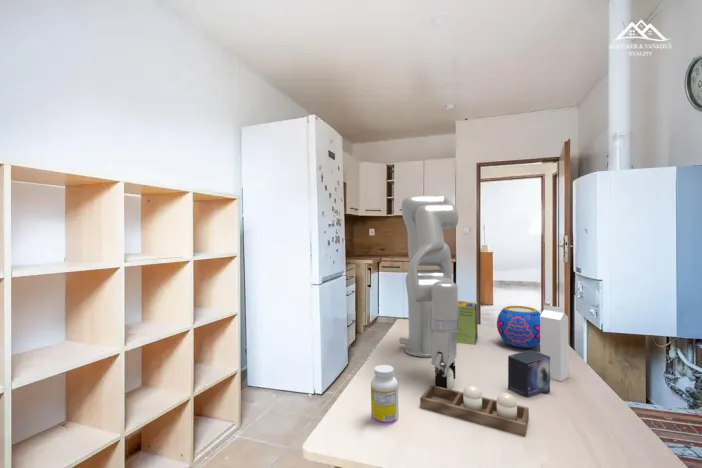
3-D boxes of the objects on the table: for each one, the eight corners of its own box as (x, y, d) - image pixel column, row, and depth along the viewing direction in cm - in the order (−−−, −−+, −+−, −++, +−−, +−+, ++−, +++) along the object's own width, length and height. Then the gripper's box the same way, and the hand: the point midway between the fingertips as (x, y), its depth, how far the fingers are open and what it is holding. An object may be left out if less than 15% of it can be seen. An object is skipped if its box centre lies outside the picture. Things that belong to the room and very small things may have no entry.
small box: (527, 401, 91) (527, 362, 91) (506, 391, 97) (506, 355, 97) (551, 392, 96) (551, 355, 96) (530, 383, 101) (530, 349, 101)
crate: (420, 410, 87) (420, 397, 87) (431, 396, 94) (431, 384, 94) (525, 439, 74) (525, 425, 74) (528, 421, 81) (528, 407, 81)
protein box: (475, 344, 137) (475, 306, 137) (437, 340, 144) (437, 303, 144) (478, 337, 147) (477, 301, 147) (442, 333, 153) (441, 299, 153)
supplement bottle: (378, 410, 87) (377, 361, 87) (402, 417, 84) (401, 366, 84) (366, 423, 82) (365, 370, 81) (391, 431, 78) (391, 376, 78)
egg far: (495, 423, 79) (495, 395, 79) (498, 414, 83) (498, 387, 83) (516, 428, 77) (515, 399, 77) (518, 419, 81) (517, 392, 81)
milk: (561, 382, 102) (560, 309, 102) (540, 375, 107) (539, 306, 107) (569, 376, 106) (568, 306, 106) (548, 370, 111) (547, 303, 111)
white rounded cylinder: (436, 390, 98) (435, 367, 98) (440, 384, 102) (440, 362, 102) (451, 393, 96) (450, 370, 96) (455, 387, 100) (455, 365, 100)
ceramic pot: (547, 343, 138) (546, 306, 138) (544, 356, 123) (544, 315, 123) (500, 336, 147) (500, 302, 147) (493, 348, 132) (493, 310, 132)
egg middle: (461, 414, 83) (461, 387, 84) (465, 406, 87) (465, 380, 87) (480, 419, 81) (479, 391, 81) (483, 410, 85) (483, 384, 85)
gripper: (441, 316, 108) (442, 370, 108) (422, 329, 93) (423, 392, 93) (465, 319, 104) (466, 375, 104) (449, 333, 89) (450, 399, 89)
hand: (445, 383), depth 99 cm, fingers open, 8 cm apart
